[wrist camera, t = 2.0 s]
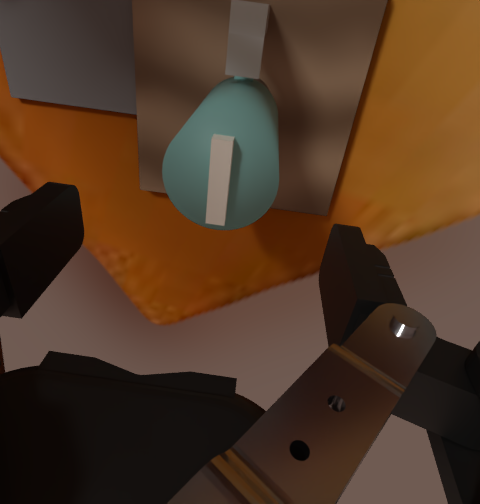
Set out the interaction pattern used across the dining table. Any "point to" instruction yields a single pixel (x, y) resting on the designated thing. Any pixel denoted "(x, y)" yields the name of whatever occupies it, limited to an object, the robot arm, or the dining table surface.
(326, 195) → the square mounting plate
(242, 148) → the teal teardrop shape
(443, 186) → the dining table surface
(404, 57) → the dining table surface
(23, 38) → the mat
